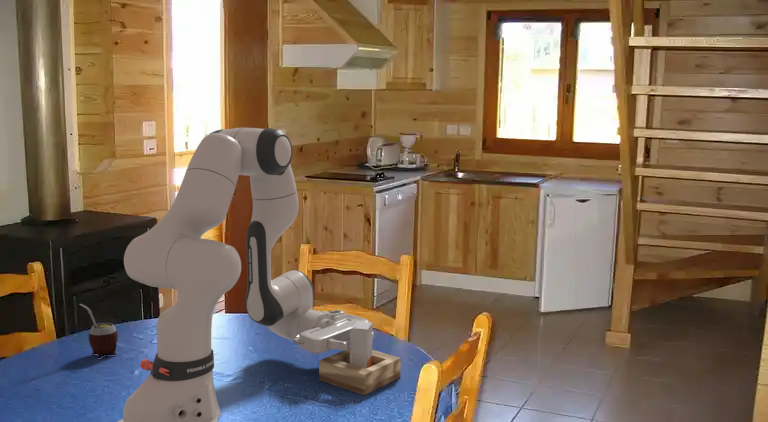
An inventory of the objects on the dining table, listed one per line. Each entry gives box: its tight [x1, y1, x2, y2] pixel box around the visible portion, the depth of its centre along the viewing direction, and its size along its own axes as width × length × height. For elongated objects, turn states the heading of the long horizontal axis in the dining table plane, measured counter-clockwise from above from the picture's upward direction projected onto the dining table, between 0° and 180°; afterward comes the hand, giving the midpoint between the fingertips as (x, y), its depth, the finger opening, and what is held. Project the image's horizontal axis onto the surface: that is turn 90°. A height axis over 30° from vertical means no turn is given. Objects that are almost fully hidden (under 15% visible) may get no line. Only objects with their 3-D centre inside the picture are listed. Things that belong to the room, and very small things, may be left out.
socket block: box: [318, 347, 402, 396], centre depth 184 cm, size 14×14×5 cm
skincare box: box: [349, 321, 374, 369], centre depth 183 cm, size 6×4×12 cm
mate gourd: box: [78, 303, 119, 358], centre depth 196 cm, size 8×8×15 cm
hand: (360, 341), depth 183 cm, fingers open, 8 cm apart
